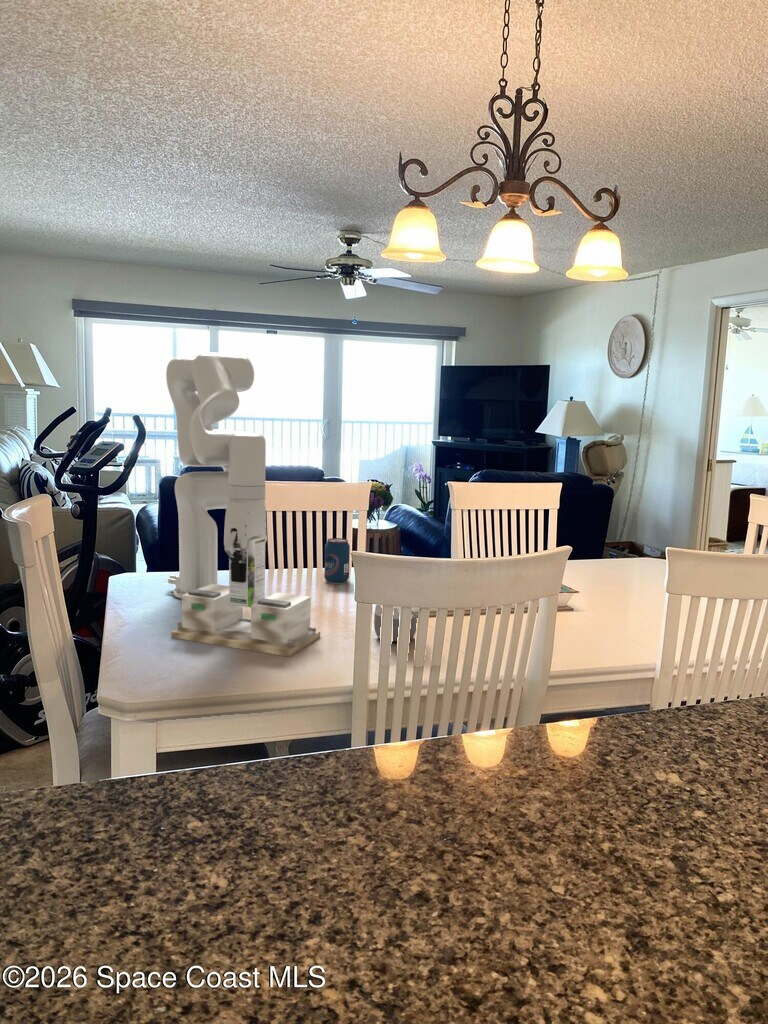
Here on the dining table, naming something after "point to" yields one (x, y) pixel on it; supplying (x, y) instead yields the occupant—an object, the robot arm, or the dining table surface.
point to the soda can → (337, 560)
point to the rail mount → (246, 621)
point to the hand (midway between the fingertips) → (246, 577)
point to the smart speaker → (395, 623)
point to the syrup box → (250, 575)
